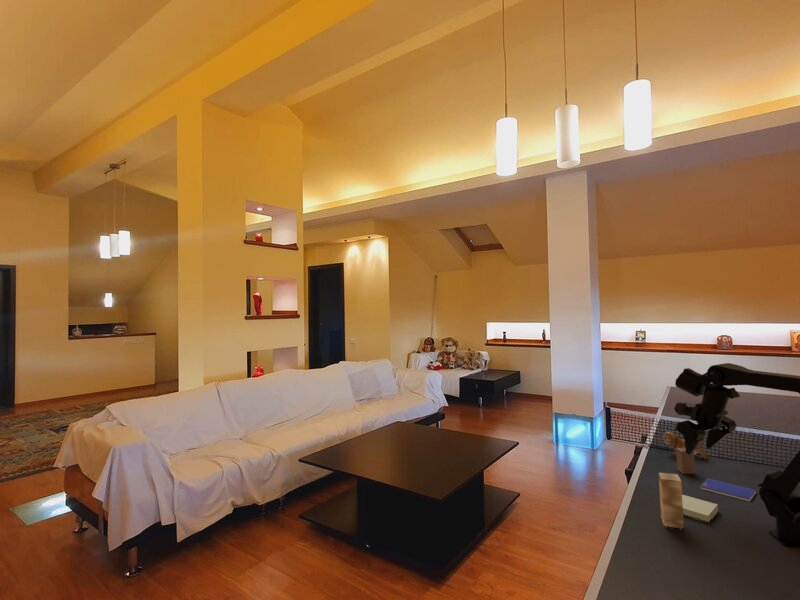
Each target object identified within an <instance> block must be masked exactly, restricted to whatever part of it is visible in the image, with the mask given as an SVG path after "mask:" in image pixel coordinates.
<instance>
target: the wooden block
mask: <svg viewBox="0 0 800 600" xmlns="http://www.w3.org/2000/svg"><path fill="white" fill-rule="evenodd" d="M675 455H677V456H676V469H677V471H678V472H680V473H681V474H683V475H694V474H696V471H695V468H696V467H695V456H694V451H693V452H692V453H691V454H690V455H689V454H687V453H686V448H676V454H675Z"/></svg>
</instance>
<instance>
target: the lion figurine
mask: <svg viewBox="0 0 800 600" xmlns="http://www.w3.org/2000/svg"><path fill="white" fill-rule="evenodd" d="M662 438H663V441H664V444H666V445H668V446H669V447H670V448H672V449H673V451H674V452H672V454H673V455H675V457H677V455H676V448H685V440H684V438H682V437H681V436H679V435H678V434H675V433H673V432H672V431H665V432H664V433H663V437H662ZM693 452H694V455H695V456H696V455H697V454H700V455H701V457H702V458H705V459H706V457H707V456H709V454H707V453H706V450H705V448H704V445H703V444H702V443H701V444H700V445H699V446H698V447H697V448H696V449H695V450H694V451H693Z"/></svg>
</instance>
